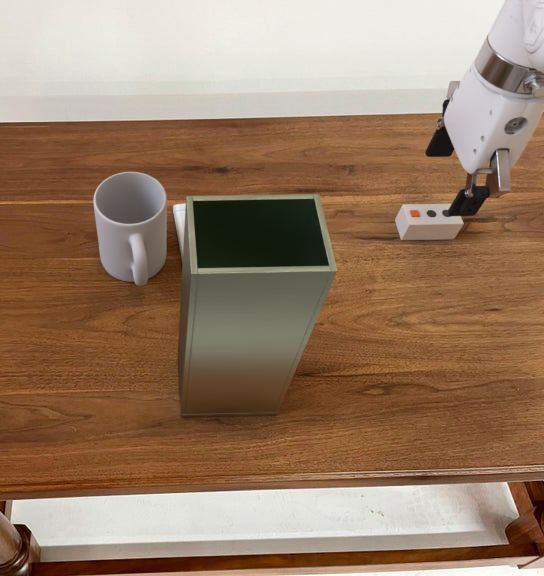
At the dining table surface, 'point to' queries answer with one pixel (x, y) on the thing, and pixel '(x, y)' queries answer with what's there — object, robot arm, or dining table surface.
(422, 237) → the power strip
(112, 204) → the mug
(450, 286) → the dining table surface
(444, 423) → the dining table surface
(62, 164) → the dining table surface
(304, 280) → the box
